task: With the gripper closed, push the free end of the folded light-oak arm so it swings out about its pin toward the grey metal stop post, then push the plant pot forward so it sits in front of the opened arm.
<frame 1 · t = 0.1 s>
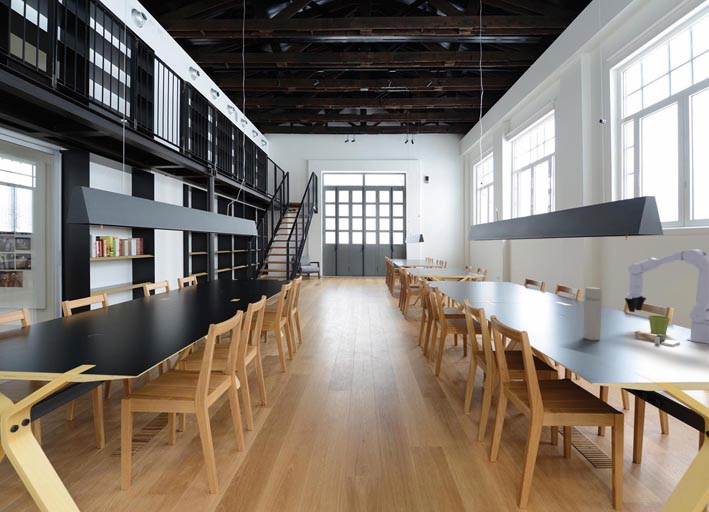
hand: (635, 311, 210), 10 cm above the table, tool pointing down, fingers open, 7 cm apart
plant pot: (658, 334, 201), on the table
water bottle: (590, 338, 191), on the table
mounting plate: (670, 344, 181), on the table
stop post: (657, 344, 180), on the table
oak arm: (650, 336, 188), point 2 cm above the table, hinge at 0.0°
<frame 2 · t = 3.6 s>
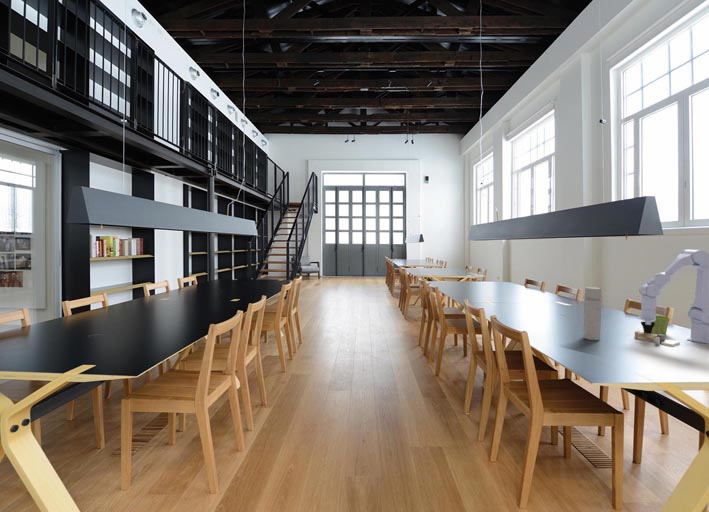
hand: (647, 336, 191), 1 cm above the table, tool pointing down, fingers closed, pressing on oak arm
oak arm: (649, 336, 188), point 2 cm above the table, hinge at 3.1°, touching gripper
everything else where it was.
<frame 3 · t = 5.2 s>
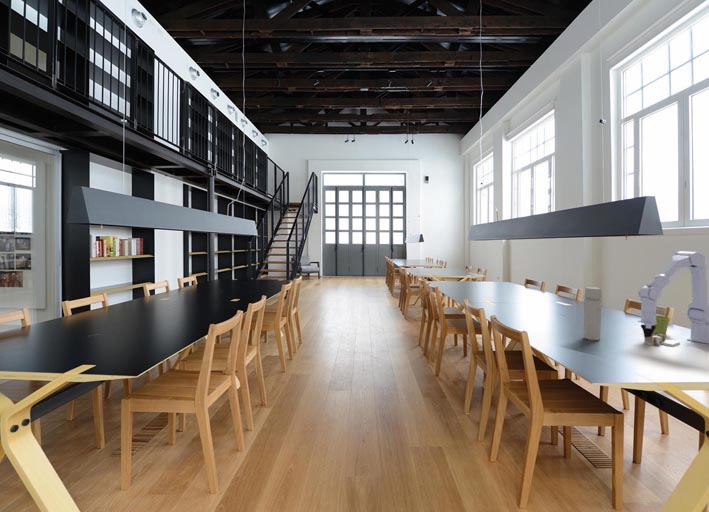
hand: (647, 340, 185), 1 cm above the table, tool pointing down, fingers closed, pressing on oak arm
oak arm: (655, 339, 183), point 2 cm above the table, hinge at 82.2°, touching gripper, stop post
everything else where it was.
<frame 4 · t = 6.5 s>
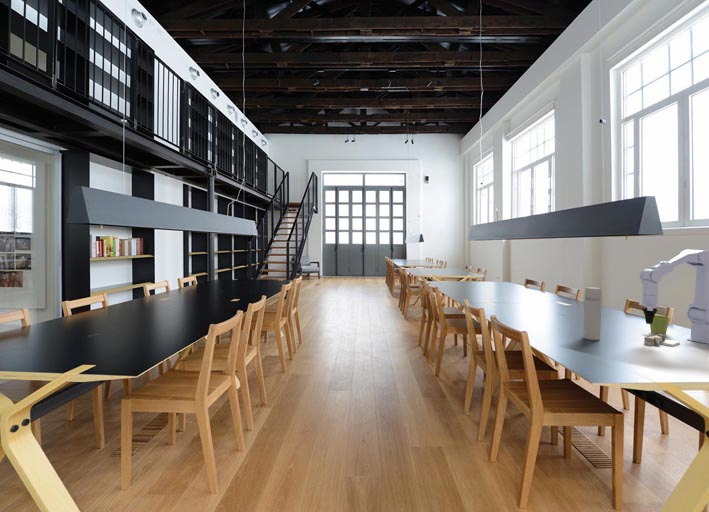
hand: (649, 323, 183), 9 cm above the table, tool pointing down, fingers closed
oak arm: (655, 339, 183), point 2 cm above the table, hinge at 82.0°
everything else where it was.
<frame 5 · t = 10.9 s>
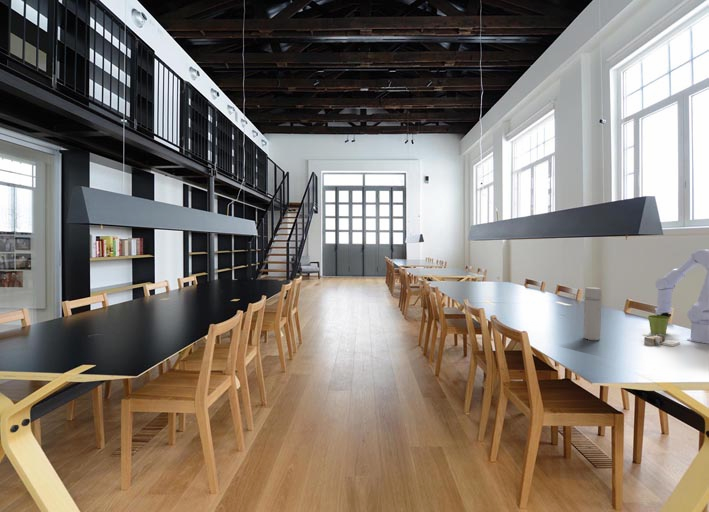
hand: (663, 327, 205), 3 cm above the table, tool pointing down, fingers closed
plant pot: (658, 333, 201), on the table, touching gripper
everything else where it was.
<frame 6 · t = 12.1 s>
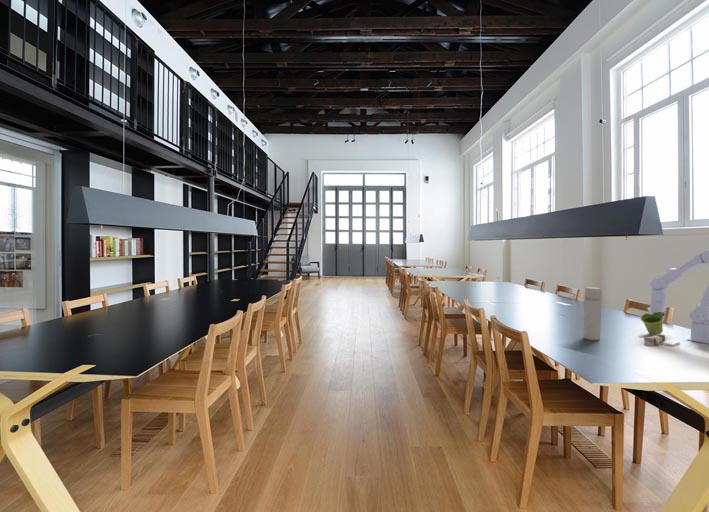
hand: (655, 326, 202), 3 cm above the table, tool pointing down, fingers closed, pressing on plant pot
plant pot: (655, 331, 200), point 1 cm above the table, touching gripper
everything else where it was.
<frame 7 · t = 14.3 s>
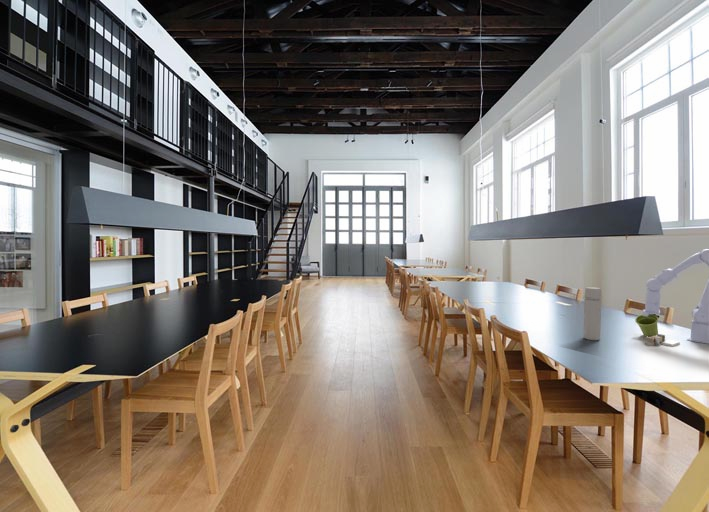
hand: (650, 329, 198), 3 cm above the table, tool pointing down, fingers closed, pressing on plant pot
plant pot: (650, 333, 196), point 1 cm above the table, touching gripper
everything else where it was.
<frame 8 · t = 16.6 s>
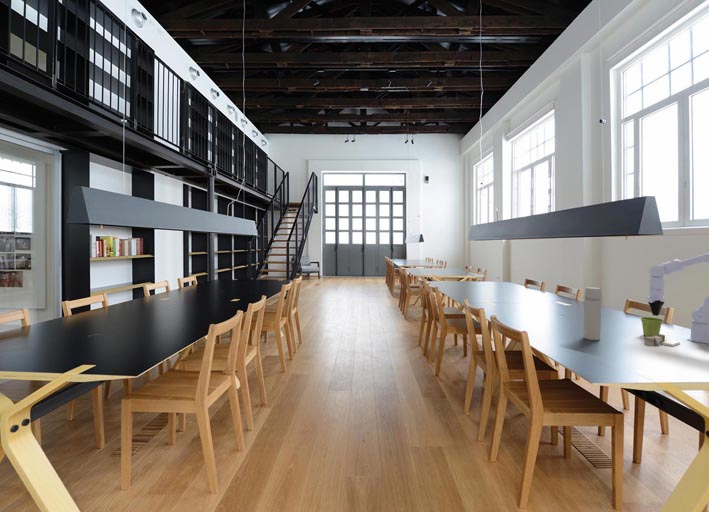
hand: (655, 315, 199), 10 cm above the table, tool pointing down, fingers closed
plant pot: (650, 336, 197), on the table
everything else where it was.
at the end: oak arm at +82° (first picture: +0°); plant pot inside the target area (4.7 cm from its centre), on the table; plant pot tilted 1° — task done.
